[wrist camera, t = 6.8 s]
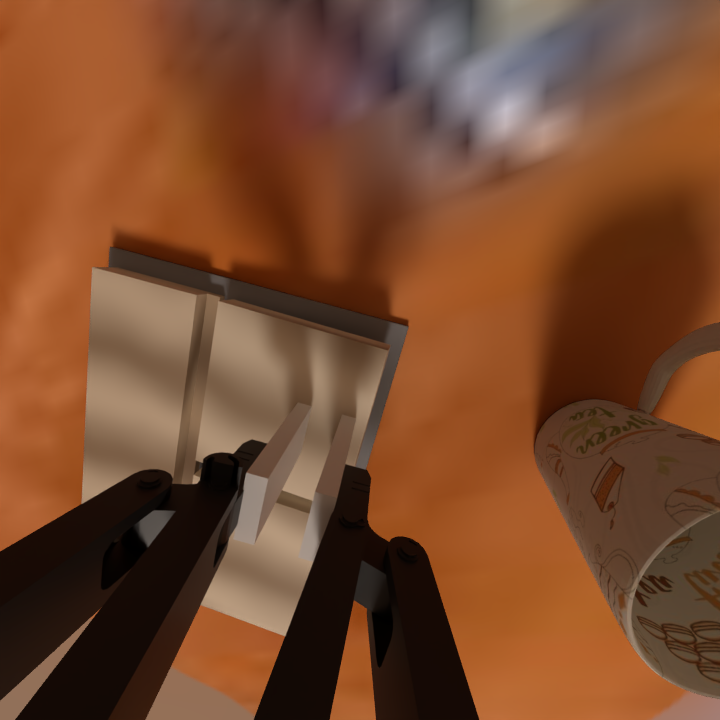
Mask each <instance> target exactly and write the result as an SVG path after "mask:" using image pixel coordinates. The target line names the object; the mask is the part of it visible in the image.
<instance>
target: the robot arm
mask: <svg viewBox="0 0 720 720" xmlns="http://www.w3.org/2000/svg"><path fill="white" fill-rule="evenodd" d="M311 408H312V406H309V405H305V404H302V403H297V404H296V406H295V407H294V408H293V410H292V411H291V412H290V414H289V415H288V416H287V418H286V419H285V421H284V422H283V423H282V425H281V426H280V427H279V429H278V430H277V431H276V433H275V434H274V436H273V437H272V438H271V440H270V441H269V442H268V443H264V442H260V441H257V440H253V439H251V440H249V441H247V442H245V443H242V445H241V446H240V447H239V448H238V449H237V451H235V452H234V454H231V453H225V452H219V453H213V454H210V455H208V456H206V457H205V458H204V459H203V463H202V470H201V476H200V480H199V482H198V483H197V484H172V483H173V478H172V476H171V474H170V473H168V472H167V471H164V470H160V469H147V470H142V471H139V472H137V473H134V474H132V475H130V476H129V477H127V478H125V479H124V480H122V481H120V482H118V483H117V484H115V485H113V486H112V487H110V488H108V489H106V490H105V491H103V492H101V493H100V494H98V495H96V496H94V497H93V498H91V499H89V500H88V501H86V502H84V503H83V504H81V505H79V506H77V507H76V508H74V509H72V510H71V511H69V512H67V513H65V514H64V515H62V516H60V517H59V518H57V519H55V520H53V521H52V522H50V523H48V524H47V525H45V526H43V527H41V528H40V529H38V530H36V531H35V532H33V533H31V534H30V535H28V536H26V537H24V538H23V539H21V540H19V541H18V542H16V543H14V544H12V545H11V546H9V547H7V548H6V549H4V550H2V551H0V700H1V699H2V698H3V697H5V696H6V695H7V694H8V693H9V692H10V691H11V690H12V689H13V688H14V687H16V686H17V685H18V684H19V683H20V682H21V681H22V680H23V679H24V678H25V677H26V676H27V675H29V674H30V673H31V672H32V671H33V670H34V669H35V668H36V667H37V666H38V665H39V664H41V663H42V662H43V661H44V660H45V659H46V658H47V657H48V656H49V655H50V654H51V653H52V652H54V651H55V650H56V649H57V648H58V647H59V646H60V645H61V644H62V643H63V642H64V641H66V640H67V639H68V638H69V637H70V636H71V635H72V634H73V633H74V632H75V631H76V630H77V629H79V628H80V627H81V626H82V625H83V624H84V623H85V622H86V621H87V620H88V619H89V618H90V617H92V616H93V615H94V614H95V613H96V612H97V611H98V610H99V609H100V608H101V607H102V608H101V609H100V610H99V612H98V613H97V614H96V615H95V617H94V618H93V619H92V621H91V622H90V623H89V625H88V626H87V627H86V628H85V630H84V631H83V632H82V634H81V635H80V636H79V638H78V639H77V640H76V642H75V643H74V644H73V645H72V647H71V648H70V649H69V651H68V652H67V653H66V654H65V656H64V657H63V658H62V660H61V661H60V662H59V664H58V665H57V666H56V668H55V669H54V670H53V671H52V673H51V674H50V675H49V676H48V678H47V679H46V680H45V682H44V683H43V684H42V686H41V687H40V688H39V689H38V691H37V692H36V694H35V695H34V696H33V697H32V699H31V700H30V701H29V702H28V704H27V705H26V706H25V708H24V709H23V710H22V712H21V713H20V714H19V715H18V717H17V718H16V719H15V720H145V719H146V717H147V715H148V713H149V711H150V709H151V707H152V705H153V702H154V700H155V698H156V696H157V694H158V692H159V690H160V688H161V686H162V684H163V682H164V680H165V678H166V676H167V673H168V671H169V669H170V667H171V665H172V663H173V661H174V659H175V657H176V655H177V653H178V651H179V649H180V646H181V644H182V642H183V640H184V638H185V636H186V634H187V632H188V630H189V628H190V626H191V624H192V621H193V619H194V617H195V615H196V613H197V611H198V609H199V607H200V605H201V603H202V601H203V599H204V597H205V594H206V592H207V590H208V588H209V586H210V584H211V582H212V580H213V578H214V576H215V574H216V572H217V570H218V567H219V565H220V563H221V561H222V559H223V557H224V555H225V553H226V551H227V547H228V542H229V538H230V536H231V534H232V533H233V531H234V529H235V533H234V538H233V539H234V540H238V541H241V542H245V543H248V544H252V545H254V544H255V542H256V540H257V538H258V536H259V534H260V532H261V531H262V529H263V527H264V525H265V523H266V521H267V519H268V517H269V515H270V513H271V511H272V509H273V507H274V505H275V503H276V501H277V499H278V497H279V495H280V493H281V491H282V489H283V487H284V485H285V483H286V481H287V479H288V477H289V475H290V473H291V471H292V469H293V467H294V465H295V463H296V461H297V459H298V457H299V455H300V454H301V451H302V446H303V442H304V438H305V434H306V429H307V425H308V421H309V417H310V412H311ZM355 422H356V418H353V417H349V416H346V415H342V416H341V419H340V422H339V425H338V428H337V431H336V433H335V436H334V439H333V442H332V445H331V448H330V450H329V453H328V456H327V459H326V462H325V465H324V468H323V470H322V473H321V476H320V479H319V482H318V485H317V487H316V490H315V494H314V498H313V502H312V505H311V509H310V513H309V517H308V521H307V525H306V529H305V533H304V537H303V541H302V545H301V549H300V553H299V556H298V558H302V559H305V560H309V561H312V562H313V564H312V567H311V569H310V572H309V575H308V577H307V580H306V583H305V585H304V588H303V591H302V593H301V596H300V598H299V601H298V604H297V606H296V609H295V612H294V614H293V617H292V620H291V622H290V625H289V628H288V630H287V633H286V636H285V638H284V641H283V644H282V646H281V649H280V651H279V654H278V657H277V659H276V662H275V665H274V667H273V670H272V673H271V675H270V678H269V681H268V683H267V686H266V689H265V691H264V694H263V697H262V699H261V702H260V705H259V707H258V710H257V712H256V715H255V718H254V720H329V719H330V714H331V709H332V704H333V699H334V694H335V690H336V685H337V680H338V675H339V670H340V665H341V660H342V655H343V650H344V645H345V640H346V635H347V631H348V626H349V621H350V616H351V611H352V606H353V601H354V600H355V601H356V602H358V603H359V604H361V605H362V606H364V607H365V608H367V621H368V633H369V644H370V655H371V667H372V678H373V689H374V701H375V712H376V720H479V717H478V714H477V711H476V708H475V705H474V702H473V698H472V695H471V692H470V689H469V686H468V682H467V679H466V676H465V673H464V670H463V667H462V663H461V660H460V657H459V654H458V651H457V647H456V644H455V641H454V638H453V635H452V632H451V628H450V625H449V622H448V619H447V616H446V612H445V609H444V606H443V603H442V600H441V597H440V593H439V590H438V587H437V584H436V581H435V577H434V574H433V571H432V568H431V565H430V562H429V558H428V555H427V553H426V552H425V550H424V548H423V547H422V546H421V545H420V544H419V543H417V542H416V541H414V540H413V539H410V538H407V537H395V538H392V539H391V540H390V542H388V541H387V540H385V539H383V538H381V537H380V536H378V535H377V534H376V533H375V532H374V531H373V530H372V529H371V527H370V526H369V524H368V520H367V514H368V504H369V493H370V483H371V477H370V475H369V473H368V471H367V470H365V469H361V468H358V467H354V466H351V465H347V464H345V463H346V459H347V455H348V451H349V447H350V443H351V438H352V434H353V430H354V426H355Z"/></svg>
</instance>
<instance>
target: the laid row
mask: <svg viewBox="0 0 720 720" xmlns="http://www.w3.org/2000/svg"><path fill="white" fill-rule="evenodd" d="M232 299H234V300H238V301H241V302H245V303H248V304H252V305H255V306H258V307H262V308H265V309H269V310H272V311H276V312H279V313H283V314H286V315H289V316H293V317H296V318H300V319H303V320H307V321H310V322H313V323H317V324H320V325H324V326H327V327H331V328H334V329H338V330H341V331H344V332H348V333H351V334H355V335H358V336H362V337H365V338H368V339H372V340H375V341H379V342H382V343H386V344H389V345H391V346H390V349H389V353H388V356H387V360H386V363H385V367H384V370H383V373H382V377H381V380H380V384H379V387H378V391H377V394H376V398H375V401H374V404H373V408H372V411H371V415H370V418H369V422H368V425H367V429H366V432H365V435H364V439H363V442H362V446H361V449H360V453H359V456H358V460H357V463H356V466H355V467H358V468H361V469H365V470H366V467H367V463H368V460H369V457H370V453H371V450H372V447H373V443H374V440H375V437H376V433H377V430H378V427H379V423H380V420H381V417H382V414H383V410H384V407H385V404H386V400H387V397H388V394H389V390H390V387H391V384H392V380H393V377H394V374H395V370H396V367H397V364H398V360H399V357H400V354H401V350H402V347H403V344H404V340H405V337H406V334H407V330H408V326H406V325H402V324H398V323H395V322H391V321H387V320H383V319H380V318H376V317H372V316H368V315H365V314H361V313H357V312H354V311H350V310H346V309H342V308H339V307H335V306H331V305H328V304H324V303H320V302H316V301H313V300H309V299H305V298H301V297H298V296H294V295H290V294H287V293H283V292H279V291H275V290H272V289H268V288H264V287H261V286H257V285H253V284H249V283H246V282H242V281H238V280H234V279H231V278H227V277H223V276H220V275H216V274H212V273H208V272H205V271H201V270H197V269H194V268H190V267H186V266H182V265H179V264H175V263H171V262H167V261H164V260H160V259H156V258H153V257H149V256H145V255H141V254H138V253H134V252H130V251H127V250H123V249H119V248H115V247H110V252H109V267H92V284H91V307H90V329H89V352H88V374H87V396H86V419H85V441H84V464H83V486H82V504H83V503H84V502H86V501H88V500H89V499H91V498H93V497H94V496H96V495H98V494H100V493H101V492H103V491H105V490H106V489H108V488H110V487H112V486H113V485H115V484H117V483H118V482H120V481H122V480H124V479H125V478H127V477H129V476H130V475H132V474H134V473H137V472H139V471H142V470H147V469H160V470H164V471H167V472H168V473H170V474H171V476H172V478H173V483H172V484H192V483H193V476H194V474H195V473H196V472H197V471H199V470H200V469H201V468H202V462H199V461H196V460H195V459H196V452H197V445H198V438H199V431H200V425H201V418H202V411H203V404H204V397H205V390H206V383H207V376H208V369H209V362H210V356H211V349H212V342H213V335H214V328H215V321H216V314H217V307H218V301H223V300H232Z"/></svg>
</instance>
